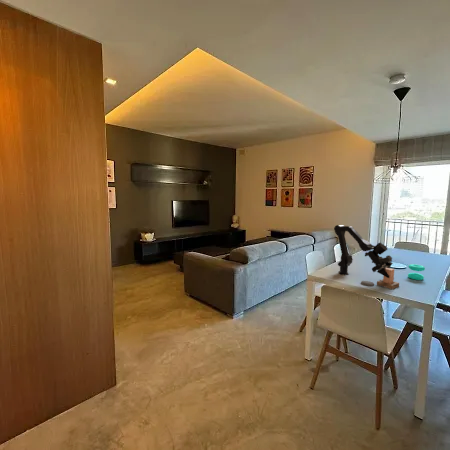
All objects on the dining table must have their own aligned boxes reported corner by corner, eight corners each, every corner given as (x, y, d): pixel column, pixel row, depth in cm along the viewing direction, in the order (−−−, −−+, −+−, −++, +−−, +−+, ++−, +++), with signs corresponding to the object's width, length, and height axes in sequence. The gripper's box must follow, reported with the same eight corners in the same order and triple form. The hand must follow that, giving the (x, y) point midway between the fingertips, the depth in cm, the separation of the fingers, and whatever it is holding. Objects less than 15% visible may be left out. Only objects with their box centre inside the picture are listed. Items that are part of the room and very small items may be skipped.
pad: (359, 281, 189) (359, 280, 189) (372, 282, 187) (372, 281, 187) (362, 285, 181) (362, 284, 181) (375, 286, 179) (375, 285, 179)
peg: (382, 285, 182) (384, 268, 180) (385, 284, 184) (387, 267, 183) (389, 287, 178) (391, 270, 176) (392, 285, 180) (394, 269, 179)
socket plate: (376, 284, 182) (377, 281, 182) (383, 282, 188) (384, 278, 188) (392, 289, 174) (392, 285, 174) (399, 286, 180) (399, 282, 179)
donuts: (424, 268, 189) (408, 265, 195) (423, 281, 190) (406, 278, 197) (425, 265, 197) (409, 263, 203) (424, 278, 198) (408, 275, 204)
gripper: (377, 253, 176) (394, 273, 168) (390, 250, 187) (406, 268, 179) (365, 262, 184) (380, 281, 176) (378, 258, 194) (393, 276, 186)
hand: (390, 277), depth 179 cm, fingers closed on peg, 5 cm apart
